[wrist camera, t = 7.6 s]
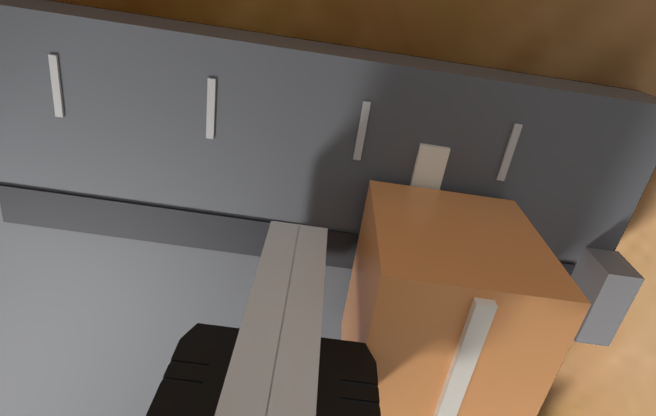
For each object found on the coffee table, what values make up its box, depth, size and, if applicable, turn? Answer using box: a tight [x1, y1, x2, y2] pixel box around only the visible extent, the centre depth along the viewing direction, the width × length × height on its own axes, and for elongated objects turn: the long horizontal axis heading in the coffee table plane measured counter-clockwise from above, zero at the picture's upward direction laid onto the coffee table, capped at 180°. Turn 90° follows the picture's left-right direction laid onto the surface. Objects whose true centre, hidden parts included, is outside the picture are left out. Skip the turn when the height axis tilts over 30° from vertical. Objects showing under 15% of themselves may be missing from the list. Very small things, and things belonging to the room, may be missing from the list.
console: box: [0, 0, 656, 416], centre depth 17 cm, size 20×21×3 cm
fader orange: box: [341, 180, 591, 416], centre depth 12 cm, size 4×5×5 cm
